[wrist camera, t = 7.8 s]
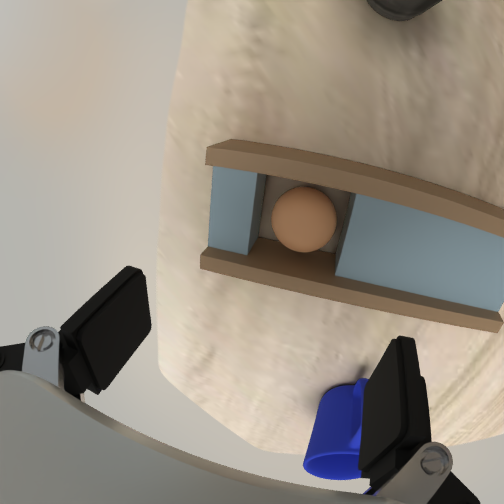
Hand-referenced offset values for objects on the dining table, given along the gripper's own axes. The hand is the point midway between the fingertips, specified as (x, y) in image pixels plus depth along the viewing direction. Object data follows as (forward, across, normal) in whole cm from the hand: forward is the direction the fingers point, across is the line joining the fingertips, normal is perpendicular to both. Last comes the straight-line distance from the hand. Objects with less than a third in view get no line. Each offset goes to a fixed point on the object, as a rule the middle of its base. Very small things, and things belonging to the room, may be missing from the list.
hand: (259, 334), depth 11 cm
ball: (+13, 0, +1) cm, 13 cm away
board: (+16, -6, +1) cm, 17 cm away
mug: (+15, -10, +21) cm, 28 cm away
